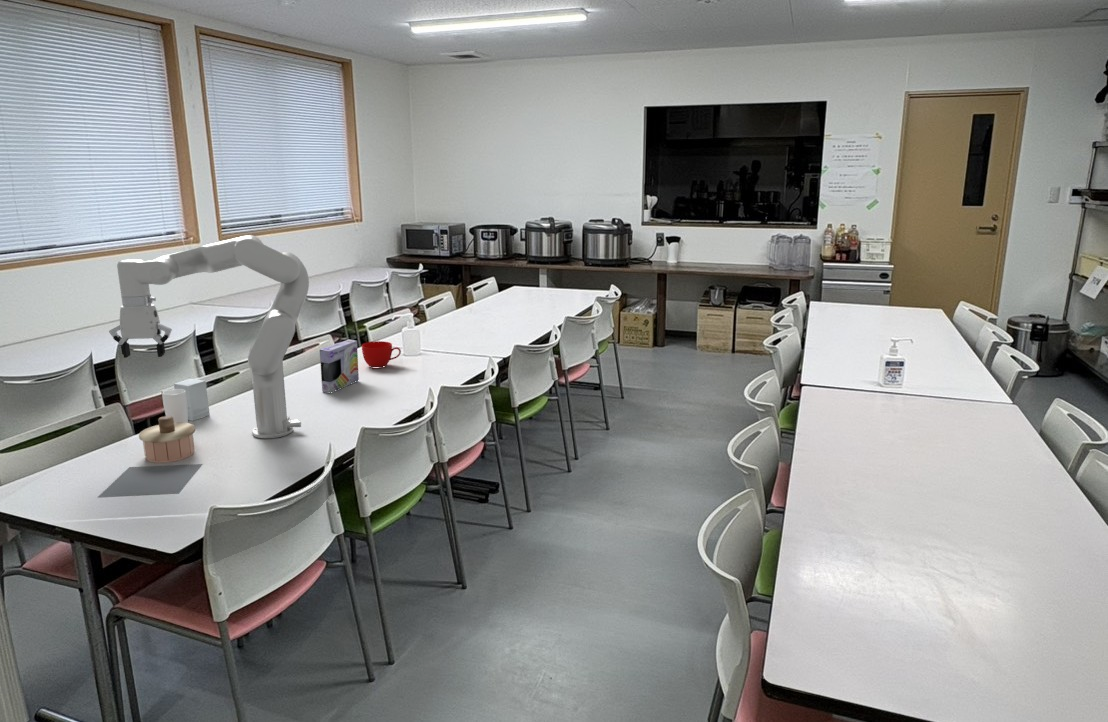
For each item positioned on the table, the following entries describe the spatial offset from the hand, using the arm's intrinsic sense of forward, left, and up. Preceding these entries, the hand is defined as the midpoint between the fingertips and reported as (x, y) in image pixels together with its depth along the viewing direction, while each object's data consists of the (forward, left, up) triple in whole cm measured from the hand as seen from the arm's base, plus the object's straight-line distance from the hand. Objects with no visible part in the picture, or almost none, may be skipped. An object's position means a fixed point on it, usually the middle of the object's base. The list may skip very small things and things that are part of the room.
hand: (144, 356), depth 219 cm
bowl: (-8, +11, -28) cm, 31 cm away
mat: (-10, +30, -28) cm, 42 cm away
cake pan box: (-49, -56, -29) cm, 80 cm away
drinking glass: (-5, -6, -28) cm, 30 cm away
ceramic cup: (-63, -86, -28) cm, 110 cm away
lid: (-8, +11, -21) cm, 25 cm away
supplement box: (-3, -25, -29) cm, 38 cm away
